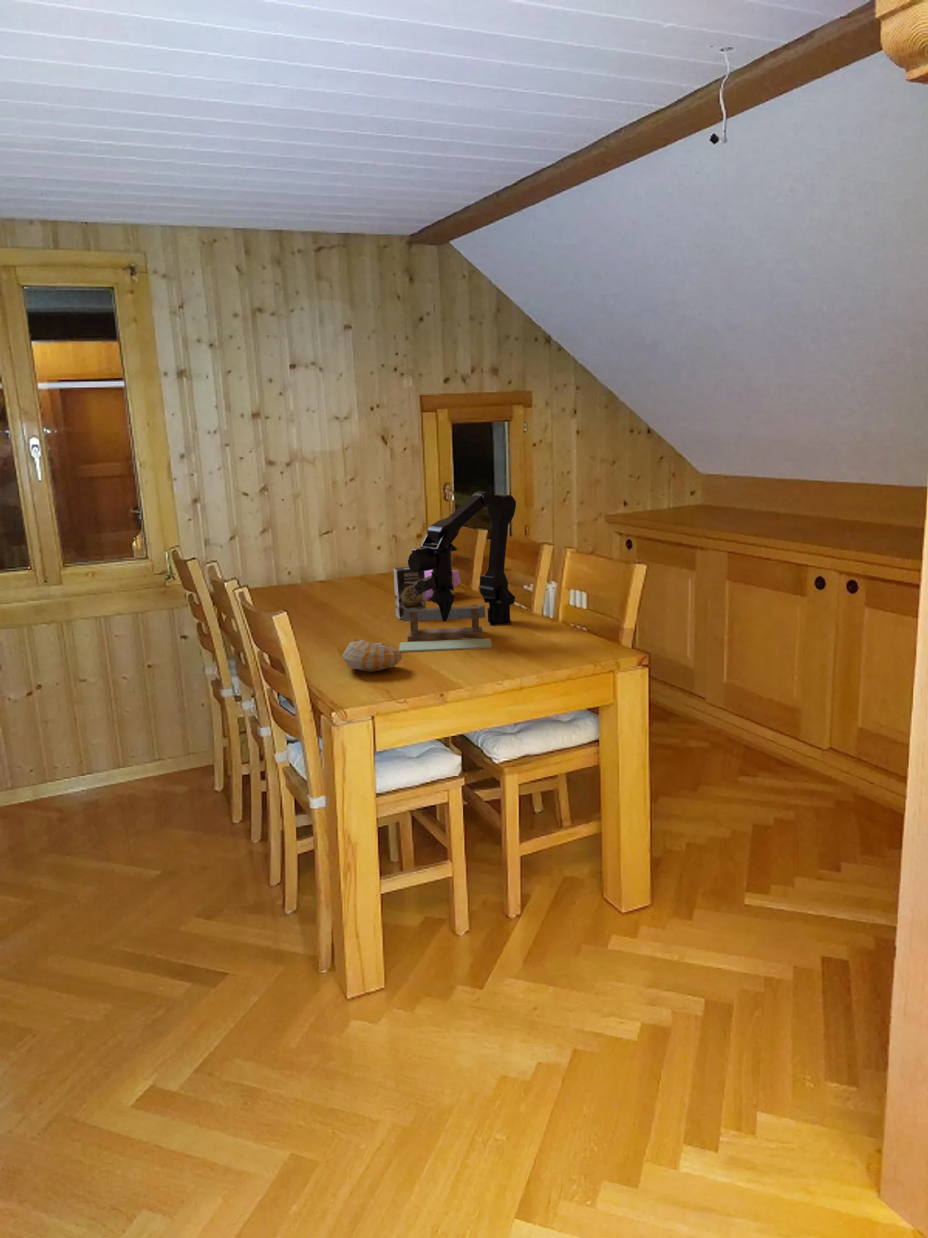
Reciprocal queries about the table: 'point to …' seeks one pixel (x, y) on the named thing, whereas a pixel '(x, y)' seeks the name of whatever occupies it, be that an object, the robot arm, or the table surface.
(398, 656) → the nautilus
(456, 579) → the pink piggy bank
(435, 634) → the hook stand
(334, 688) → the table surface
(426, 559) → the robot arm
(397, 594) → the cookie box
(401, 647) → the rubber mat
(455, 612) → the hang rail
